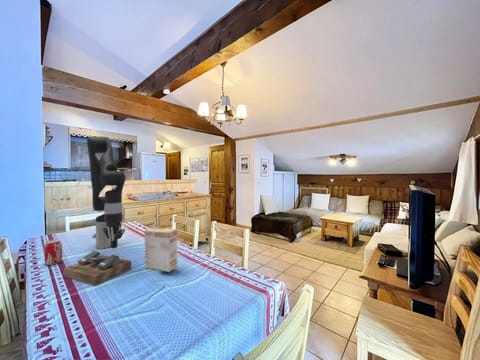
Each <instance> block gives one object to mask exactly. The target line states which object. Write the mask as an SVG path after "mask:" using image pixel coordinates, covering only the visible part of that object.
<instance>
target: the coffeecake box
mask: <svg viewBox="0 0 480 360" xmlns="http://www.w3.org/2000/svg"><path fill="white" fill-rule="evenodd" d="M144 267H145V269H150V270H157V271H162V272H168V273H170V272H171V271H172V270H174V269H176V268H178V228H167V227H166V228H165V227H156V226H154V227H150V228H148V229H144Z"/></svg>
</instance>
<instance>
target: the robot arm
mask: <svg viewBox="0 0 480 360" xmlns="http://www.w3.org/2000/svg"><path fill="white" fill-rule="evenodd" d="M86 145H87V146H86V147H87V151H88V152H87V153H88V159H89V169H90V170H89V172H90V180H91V182H90V183H91V189H92V191H91V192H92V195H91V196H92V209H93V210H94V211H95V212H101V211H102V212H103V211H104V213H102V214H100V215H98V216H96V218H95V234H96V238H95V247H96V249H97V250H98V249H99V250H100V249H101V250H102V249H108V248H110V249H116V248H118V240H120V239H121V238H122V237H123V235H124V234H125V232H126V229H125V228H123V227H122V222H123V218H124V217H123V214H124V212H123V203H122V201H123V199H122V198H123V197H122V196H123V195H122V194H123V190H124V185H125V184H126V183H125V182H126V179H127V178H126V174H125V172H123V171H122V170H118V166H117V163H116V161H115V157H114V152H113V151H114V150H113V147H112V142H111V140H110V138H109V137H107V136H88V137H87V140H86ZM96 154H102V155H101V156H100V158H99V159H98V157H97V155H96ZM107 186H115V188H114V189H110V190H107V191H105V193H104V196H100V194H101V192H102V191H103V190H104V189H105V188H106V187H107Z"/></svg>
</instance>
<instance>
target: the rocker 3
mask: <svg viewBox="0 0 480 360" xmlns="http://www.w3.org/2000/svg"><path fill="white" fill-rule="evenodd" d="M119 259H121V258H120V256H119V255H115V254H112V255H110V257H109V258H107V259H105V260H104V261H102V262H101V263H99V264H98V265H97V267H98V268H99V269H103V270H104V269H106V268H107V267H109V266H110V265H112V264H113V263H115V262H116V261H117V260H119Z"/></svg>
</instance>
